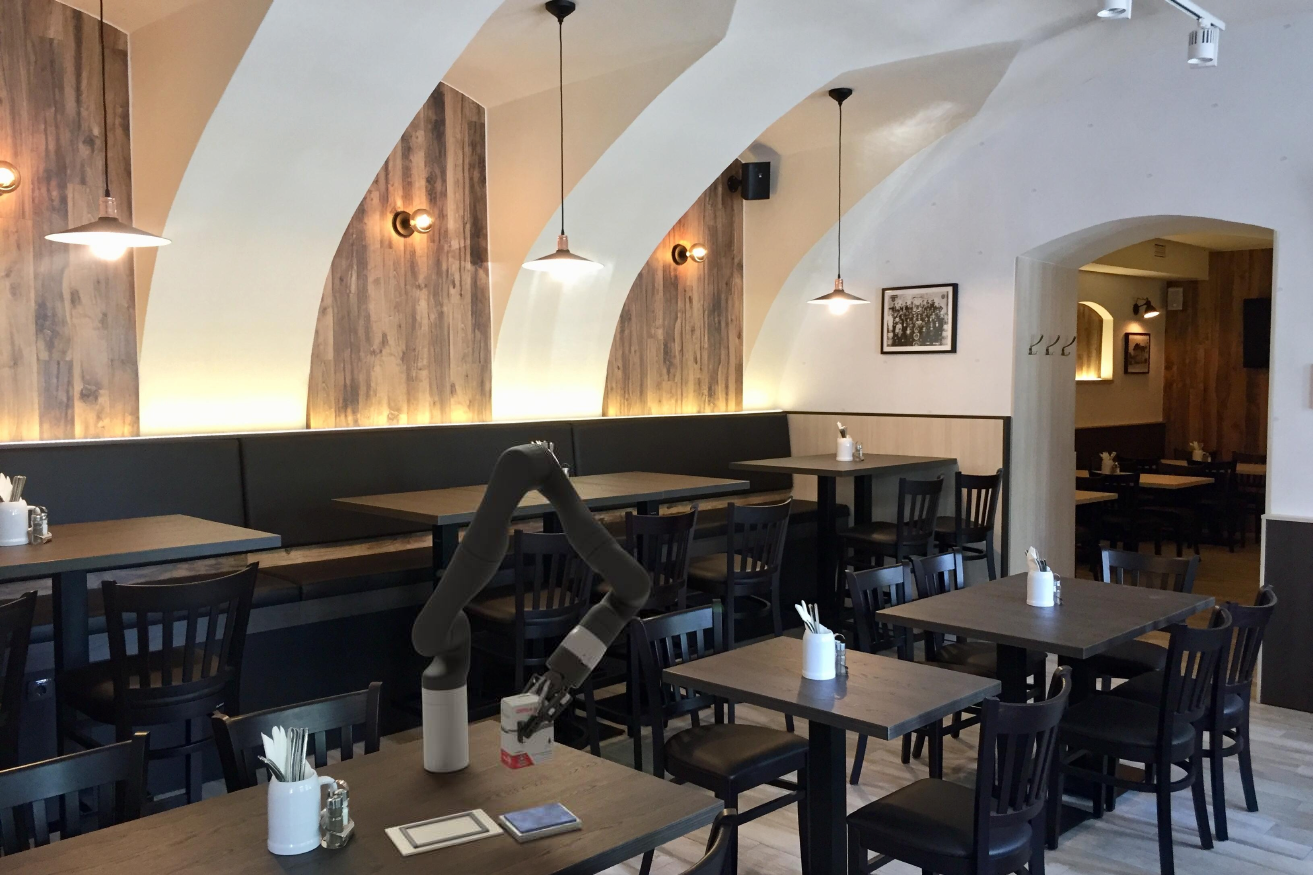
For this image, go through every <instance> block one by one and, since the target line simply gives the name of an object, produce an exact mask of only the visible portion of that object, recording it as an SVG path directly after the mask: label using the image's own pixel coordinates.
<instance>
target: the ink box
mask: <svg viewBox="0 0 1313 875" xmlns="http://www.w3.org/2000/svg"><path fill="white" fill-rule="evenodd" d="M520 694H521V693H520ZM520 694H517V695H512V696H509V697H503V698H502V699H501V701H500V756H501V757H500V760H501V761H500V762H501V763H502V764H503V765H505V766H506V767H507V768H509V769H511V770H512V771H514V770H519V769H521V768H522V769H523V768H528V767H531V766H535V765H536V766H537V765H539V764H544V763H548V762H553V761H554V760H555V744H554V743H555V742H554V741H555V738H554V734H555V733H554V732H555V731H554V720H553V721H552V722H551V723H548V722H547V721H546V722H545V723H541V724H540V726H539V727H538V728H537V730H536V731H535V732H534V733H533V735H532V736H531V737H530V738H529V739H526V738H525V737H524V736H523V735H521V734H520V729H521V728H522V727H523V726H524V724H525V723H526V722H527V720H528V719H529V718H530V717H531V715H533V714H534V712H535V710H536V708H537V706H538V699H539V696H538V695H537V694H536V693H534V694H530V693H527V694H521V695H520ZM545 701H546V700H545ZM546 702H547V701H546ZM547 703H548V702H547ZM543 709H544V708H542V710H543ZM542 710H541V711H542ZM552 713H553V712H551V713H550V715H551V714H552ZM533 716H534V715H533Z"/></svg>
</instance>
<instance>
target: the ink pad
mask: <svg viewBox="0 0 1313 875" xmlns="http://www.w3.org/2000/svg"><path fill="white" fill-rule="evenodd" d="M498 823H499V825H501V826H502V827H503V828H504V830H506V831H507V832H508V833H509V834H510V835H511V836H512V837H513V838H514V839H515V840H516V841H517V842H518V843H523V842H527V841H532V840H537V839H540V838H544V837H550V836H553V835H558V834H561V833H567V832H570V831H574V830H579V829H582V828H583V826H582V825H583V824H582V820H581V819H579V817H577V816H576V815H575V814H573V813H572V812H571V811H570V810H569V809H567V807H565V806H564V805H563V804H561V803H560V802H555V803H550V804H546V805H542V806H541V805H540V806H537V807H531V808H528V809H523V810H519V811H514V812H509V813H506V814H503V815H498Z"/></svg>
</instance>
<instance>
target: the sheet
mask: <svg viewBox="0 0 1313 875" xmlns="http://www.w3.org/2000/svg"><path fill="white" fill-rule="evenodd" d="M384 832H385V834H386V835H387V837H388V838H389V839H390V840H391V841H392V843H393V845H395V847H396V848H397V849H398V851H399V852H400V854H401V855H402V857H408V856H411V855H416V854H420V853H425V852H429V851H433V850H438V849H442V848H446V847H451V846H456V845H460V844H464V843H468V842H472V841H477V840H482V839H485V838H486V839H487V838H491V837H495V836H499V835H502V834H503V835H504V834H505V833H504V830H503V829H502V828H501V827H500V826H499V825H498V824H497V823H496V822H495V821H494V820H493V819H492V818H490V816H489V815H488V814H487V813H486V812H485V811H484V810H483V809H482V808H477V809H473V810H468V811H464V812H459V813H455V814H449V815H445V816H441V817H435V818H431V819H426V820H423V821H417V822H413V823H407V824H403V825H399V826H393V827H389V828H385V829H384Z"/></svg>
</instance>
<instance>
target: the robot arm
mask: <svg viewBox="0 0 1313 875" xmlns="http://www.w3.org/2000/svg"><path fill="white" fill-rule="evenodd" d="M532 491H537V492H538V493H539V494H540V495H542V496H543V498H544V499H546V500H547V501H548V503H550V505H551V506H552V507H553V509H554V510H555V513H556V514H557V516H558V519H559V521H560V523H561V526H562V529H563V530H562V531H563V533H564V534H565V536H566V539H567V540H568V543H569V544H570V545H571V546H572V547H573V549H574V550H575V552H576V553H577V554H578V555H579V556H580V557H581V558H582V559H583V561H584V562H585V563H586V565H587V566H589V568H591V569H592V570H593V571H594V572H597V573H599V574H600V575H601V577H602V578H603V579H604V580H605V582H606V583H607V584H608V585H609V586H610V589H609V591H608V592H607V593H606V594H605V596H604V597H603V598H602V599H601V601H600V602H598V603H597V604H594V605H593V606H592V607H591V608H590V609H589V610H588V611H587V613H586V614H585V615H584V617H582V619H581V620H580V621H579V623H578V624H577V625H576V626H575V627H574V628H573V629H572V630H571V631H570V632H569V633H568V634H567V636H565V638H563V640H562V642H561V643H560V644H559V645H558V647H557V648H556V649H555V651H554V652H553V653H552V654H551V656H550V657H549V658H548V659H547V661H546V662H545V665H546V666H547V668H548V671H547V672H545V673H544V674H543V675H542V676H540V675H539V674H537V673H534V674H532V676H531V677H530V679H529V681H528V682H527V684H526V686H524V688H523V690H522V691H521V693H520V694H519V695H521V694H527V693H530V694H534V693H536V694H537V695H538V696H539V699H538V706H537V708H536V710H535V712H534V714H533V715H534V716H533V715H531V717H530V718H529V719H528V720H527V722H526V723H525V724H524V726H523V727H522V728H521V729H520V734H521V735H523V736H524V737H525V738H526V739H529V738H530V737H531V736H532V735H533V733H534V732H535V731H536V730H537V728H538V727H539V726H540V724H541V723H545V722H546V721H547V722H548V723H551V722H552V721H553V722H554V720H556V718H558V716H559V715H561V713H562V712H563V711H564V710H565V709H566V708H567V707H568V706H569V705H570V703H572V701H573V697H572V696H571V695H570V694H569V691H570V688H571V687H572V688H573V689H578V688H579V687H580V686H581V685H582V683H584V681H585V679H586V678H587V677H588V676H589V674H590V673H591V672H592V671H593V669H594V668H595V667H596V666H597V664H598V663H599V662H600V660H601V659H602V658H603V655H604V654H605V653H606V651H607V649H608V648H609V647H610V645H611V644H612V643H613V642H614V640H615V639H616V638H617V637H618V635H619V634H620V632H621V631H622V629H623V628H624V626H625V625H627V624H628V623H629V622H630V621H631V619H633V618H634V617H635V616H636V615H637V613H638V612H639V611H640V610H641V608H642V607H643V606H644V605H645V603H646V602H647V600H648V599H649V598H650V594H651V585H652V583H651V582H652V581H651V578H650V576H649V574H648V572H647V571H646V570H645V568H644V567H643V566H642V565H641V564H640V563H639V562H638V561H637V559H635V558H634V557H633V556H632V555H630V554H629V553H628V552H627V551H626V550H625V549H624V548H622V547H621V546H620V544H619V543H618V541H616V539H615V538H614V537H613V536H612V535H611V534H610V533H609V531H608V529H606V528H605V527H604V526H603V524H601V522H600V521H599V520H598V519H597V518H596V516H595V515H594V514H593V512H591V510H590V509H589V507H588V506H587V504H586V503H585V502H584V501H583V499H582V497H581V496H580V495H579V493H578V492H577V490H576V488H575V487H574V486H573V484H572V482H571V481H570V479H569V478H568V476H567V474H566V473H565V472H564V470H563V468H562V467H561V465H560V463H559V462H558V460H557V459H556V457H555V456H554V454H553V453H552V452H551V450H549V449H548V448H547V447H546V446H544V445H543V444H540V443H527V444H522V445H521V444H520V445H518V446H517V445H516V446H512V447H510V448H508V449H506V450H504V451H503V452H502V454H501V455H500V456H499V458H498V459H497V462H496V464H495V465H494V468H493V471H492V473H491V476H490V479H489V482H488V485H487V487H486V489H485V492H484V494H483V497H482V499H481V501H480V504H479V505H478V507H477V509H476V512H475V513H474V515H473V517H472V519H471V521H470V523H469V526H468V527H467V528H466V530H465V532H464V534H463V536H462V538H461V540H460V542H459V544H458V545H457V547H456V550H455V552H454V554H453V556H452V557H451V558H452V559H451V561H450V562H449V563H448V566H447V568H446V570H445V571H444V573H443V575H442V577H441V579H440V581H439V582H438V585H437V586H436V588H435V590H434V591H433V593H432V595H431V596H430V598H429V599H428V600H427V602H426V604H425V605H424V607H423V608H422V610H421V611H420V613H419V614H418V616H417V618H416V619H415V621H414V624H413V626H412V632H411V641H412V645H413V647H414V649H415V651H416V652H417V653H418V654H419V655H422V656H423V657H434V658H433V661H432V662H431V664H430V665H429V666H427V667H426V669H424V671H423V673H422V674H421V694H422V695H421V697H422V698H421V699H422V730H423V731H422V733H423V767H424V769H425V770H426V771H429V772H431V773H432V772H433V773H450V772H455V771H456V772H457V771H459V770H462V769H465V768H466V767H467V766H469V763H470V762H469V761H470V760H469V730H468V729H469V728H468V726H469V725H468V722H469V721H468V695H467V694H468V693H467V678H468V673H469V671H470V666H471V636H472V635H471V625H470V621H469V618H468V616H467V614H466V612H464V611H463V608H465V606H467V604H468V603H469V602H470V601H471V600H472V599H473V598H474V597H475V596H477V594H478V593H479V592H480V591H482V590H483V588H485V586H486V585H488V583H489V582H490V581H491V579H492V578H493V577H494V575H495V574H496V572H497V571H498V569H499V567H500V565H501V563H502V562H503V560H504V558H505V556H506V554H507V550H508V547H509V544H510V543H509V542H510V523H511V520H512V517H513V515H514V513H515V512H516V510H517V508H518V506H519V504H520V503H521V502H522V499H523V498H525V496H526V495H527V494H528V493H529V492H532ZM545 700H546V701H547V702H548V703H547V702H546V701H545ZM542 708H544V709H543V710H542ZM541 710H542V711H541ZM551 712H553V713H552V714H551V715H550V713H551Z"/></svg>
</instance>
